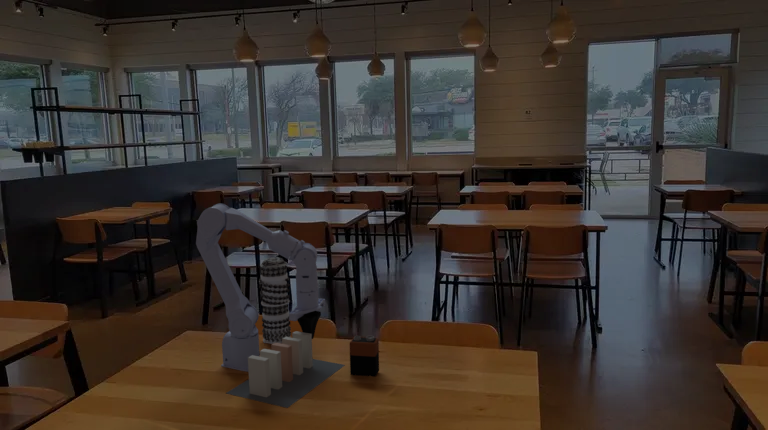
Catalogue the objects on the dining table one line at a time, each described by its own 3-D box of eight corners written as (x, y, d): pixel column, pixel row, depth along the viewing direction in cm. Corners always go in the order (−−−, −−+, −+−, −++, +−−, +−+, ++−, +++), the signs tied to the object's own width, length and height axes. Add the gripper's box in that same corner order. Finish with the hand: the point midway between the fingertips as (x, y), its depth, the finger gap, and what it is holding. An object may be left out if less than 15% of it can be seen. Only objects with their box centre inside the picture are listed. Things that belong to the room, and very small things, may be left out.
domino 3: (289, 382, 140) (287, 347, 139) (273, 378, 142) (271, 344, 141) (293, 379, 141) (291, 345, 140) (276, 376, 144) (275, 342, 142)
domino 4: (299, 375, 144) (298, 341, 143) (283, 371, 146) (282, 338, 145) (303, 372, 145) (301, 339, 144) (287, 369, 148) (285, 336, 146)
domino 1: (266, 397, 132) (264, 360, 131) (249, 393, 134) (247, 357, 133) (270, 394, 133) (269, 358, 132) (254, 390, 136) (252, 355, 134)
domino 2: (278, 389, 136) (276, 354, 135) (261, 385, 138) (259, 350, 137) (282, 386, 137) (280, 351, 136) (265, 383, 140) (264, 348, 138)
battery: (376, 378, 142) (375, 340, 141) (350, 376, 144) (348, 338, 142) (379, 371, 146) (378, 334, 145) (354, 369, 148) (353, 333, 146)
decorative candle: (277, 332, 177) (273, 254, 173) (298, 338, 172) (295, 257, 168) (255, 341, 169) (250, 260, 166) (276, 347, 164) (272, 263, 161)
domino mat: (225, 394, 135) (225, 393, 135) (289, 355, 158) (289, 354, 158) (287, 409, 127) (287, 407, 127) (345, 366, 150) (345, 364, 150)
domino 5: (309, 368, 148) (308, 335, 147) (293, 365, 150) (292, 333, 149) (312, 366, 149) (311, 333, 148) (297, 363, 152) (295, 331, 150)
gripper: (304, 298, 142) (306, 350, 144) (334, 284, 155) (335, 332, 156) (281, 295, 145) (283, 346, 147) (312, 282, 158) (314, 328, 160)
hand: (309, 338), depth 152 cm, fingers closed
